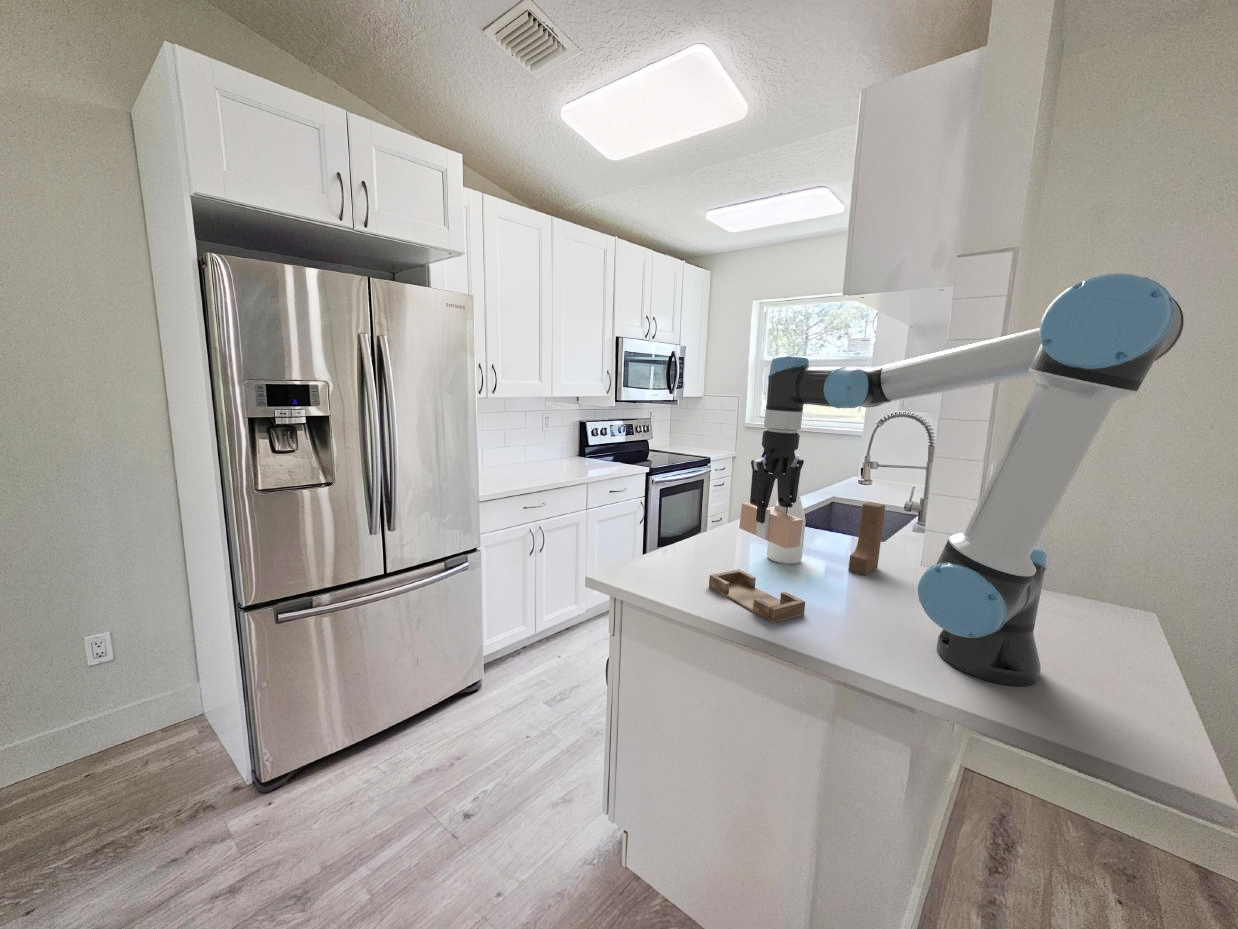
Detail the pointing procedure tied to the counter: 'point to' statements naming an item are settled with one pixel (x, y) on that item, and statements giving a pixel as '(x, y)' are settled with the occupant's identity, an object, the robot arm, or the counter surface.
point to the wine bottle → (789, 554)
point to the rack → (756, 596)
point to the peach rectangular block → (773, 526)
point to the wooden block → (868, 539)
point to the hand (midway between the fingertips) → (769, 535)
